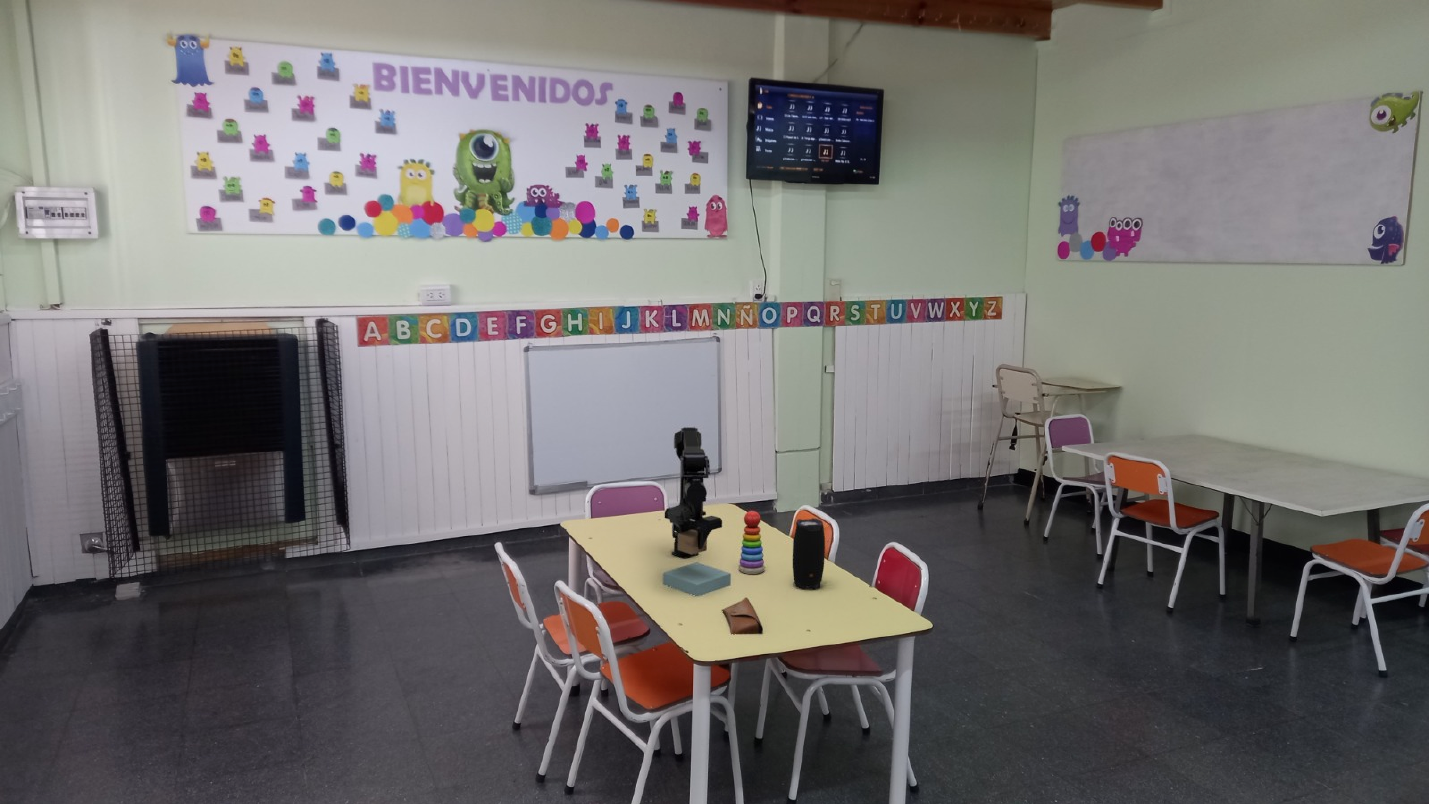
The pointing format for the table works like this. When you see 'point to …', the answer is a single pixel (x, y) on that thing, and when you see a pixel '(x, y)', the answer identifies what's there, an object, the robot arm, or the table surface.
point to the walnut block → (690, 542)
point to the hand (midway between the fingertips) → (692, 546)
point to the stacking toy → (751, 545)
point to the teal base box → (697, 579)
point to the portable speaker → (808, 553)
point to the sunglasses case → (743, 618)
